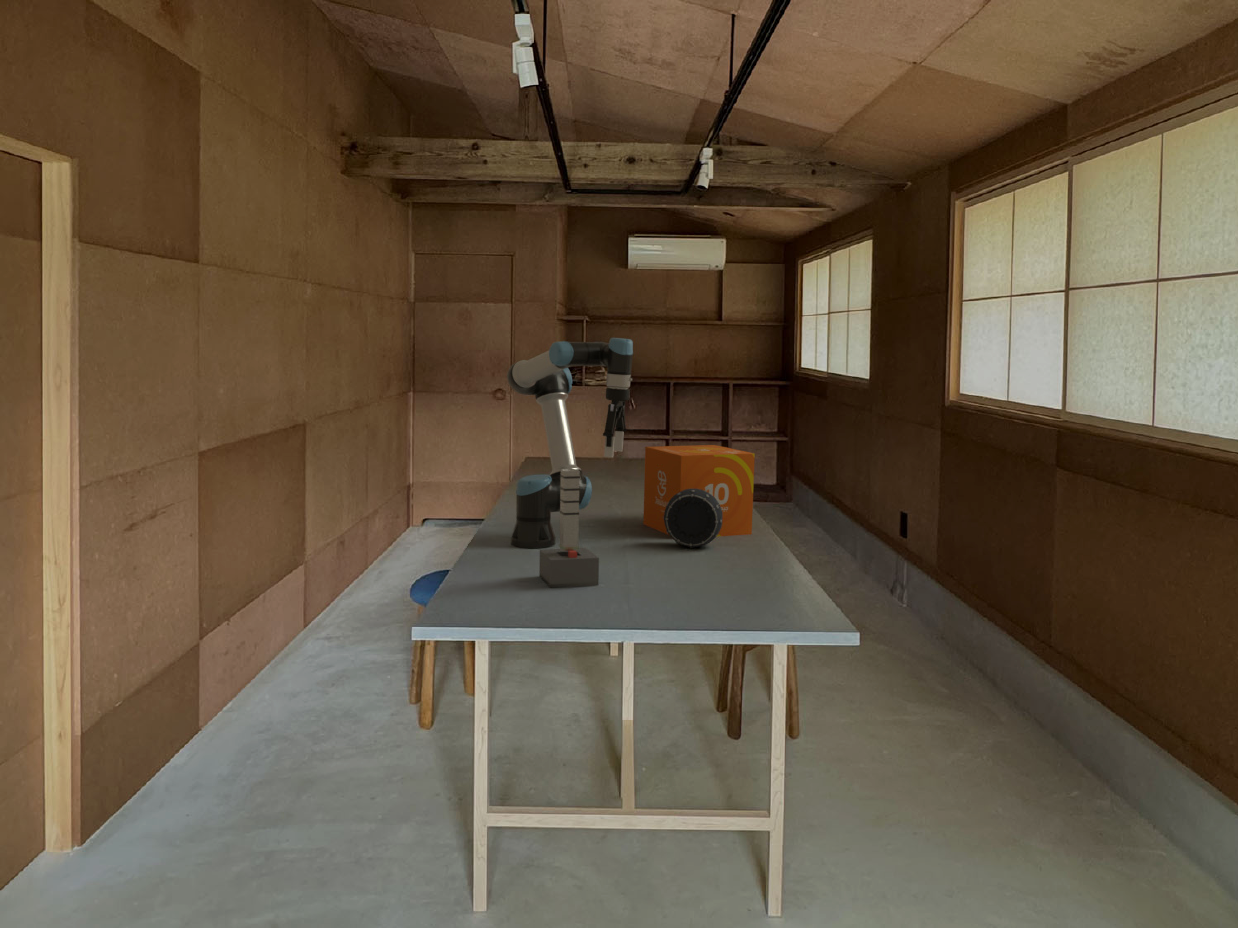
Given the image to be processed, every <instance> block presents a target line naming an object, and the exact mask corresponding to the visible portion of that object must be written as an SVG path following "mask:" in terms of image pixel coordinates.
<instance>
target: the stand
mask: <svg viewBox="0 0 1238 928" xmlns="http://www.w3.org/2000/svg"><path fill="white" fill-rule="evenodd" d="M599 566H600V558H599V556H597V555H596V554H594V553H593V552H592V551H591V550H590V549H588V548H586V547H579V549H578V550H572V551H563V550H562V549H561V548H554V549H553V548H552V549H551V548H550V549H549V548H547V549H539V574H538V575H539V577H541V580H542V581H543V582H544V583H545V584H546V585H547V586H548V587H549V588H550V589H557V588H560V589H561V588H574V587H590V586H591V587H593V586H599V579H600V578H599V571H600V567H599Z"/></svg>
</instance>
